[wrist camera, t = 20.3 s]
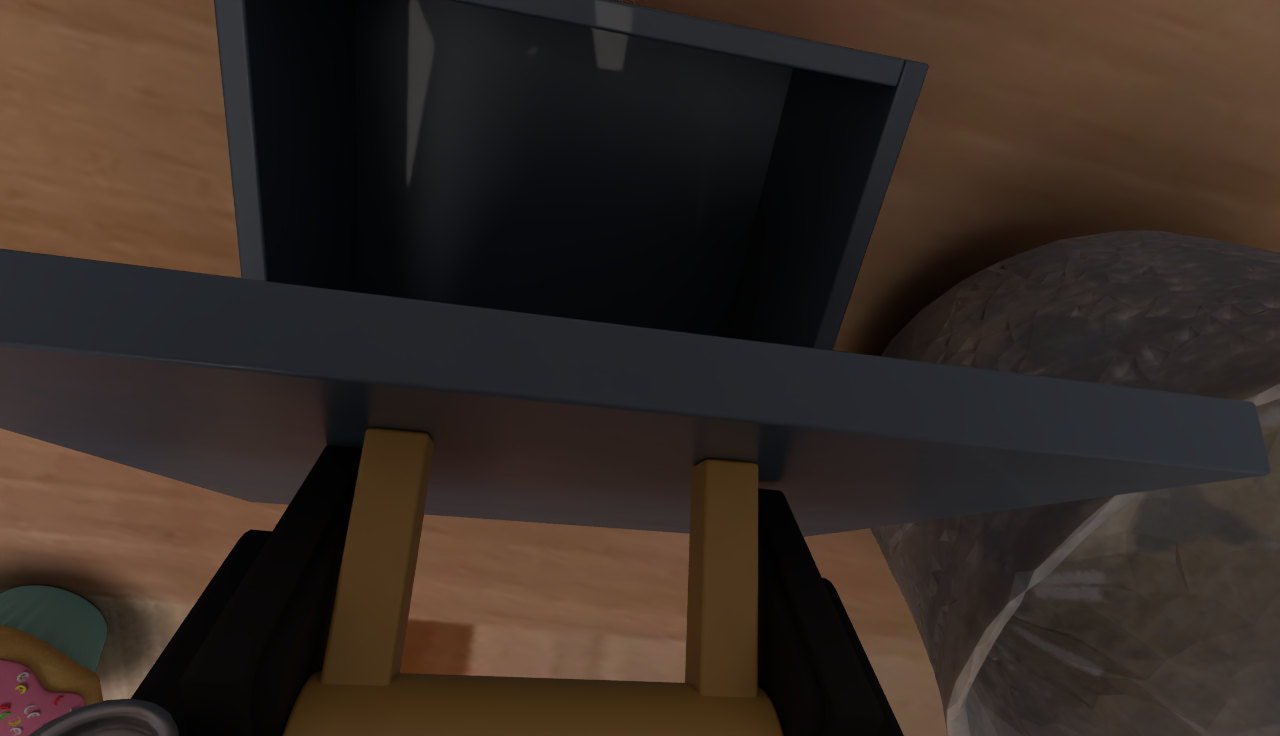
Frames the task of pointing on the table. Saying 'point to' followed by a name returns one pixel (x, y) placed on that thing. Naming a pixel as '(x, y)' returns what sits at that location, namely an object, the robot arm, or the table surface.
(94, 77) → the table surface
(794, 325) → the chest
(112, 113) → the table surface
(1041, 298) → the bowl
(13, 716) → the cupcake
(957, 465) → the lid
